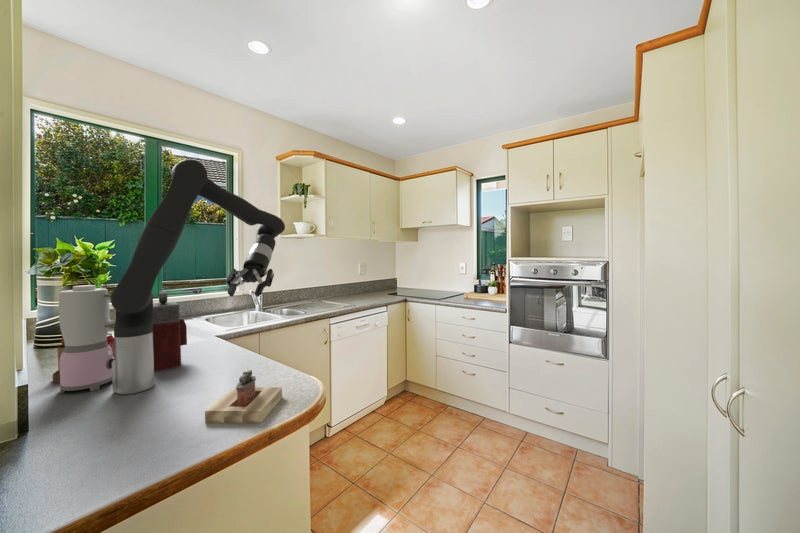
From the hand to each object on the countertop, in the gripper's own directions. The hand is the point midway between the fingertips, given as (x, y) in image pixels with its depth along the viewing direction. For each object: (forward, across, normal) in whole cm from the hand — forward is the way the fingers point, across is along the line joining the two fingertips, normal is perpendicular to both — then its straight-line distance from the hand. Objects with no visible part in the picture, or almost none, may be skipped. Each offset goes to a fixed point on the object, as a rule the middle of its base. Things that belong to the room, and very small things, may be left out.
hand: (243, 295), depth 103 cm
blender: (+22, -47, +18) cm, 55 cm away
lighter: (+33, +9, +8) cm, 35 cm away
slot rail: (+33, +9, +8) cm, 35 cm away
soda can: (+10, -60, +31) cm, 68 cm away
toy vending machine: (+9, -37, +32) cm, 50 cm away
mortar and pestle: (+18, -62, +23) cm, 68 cm away
